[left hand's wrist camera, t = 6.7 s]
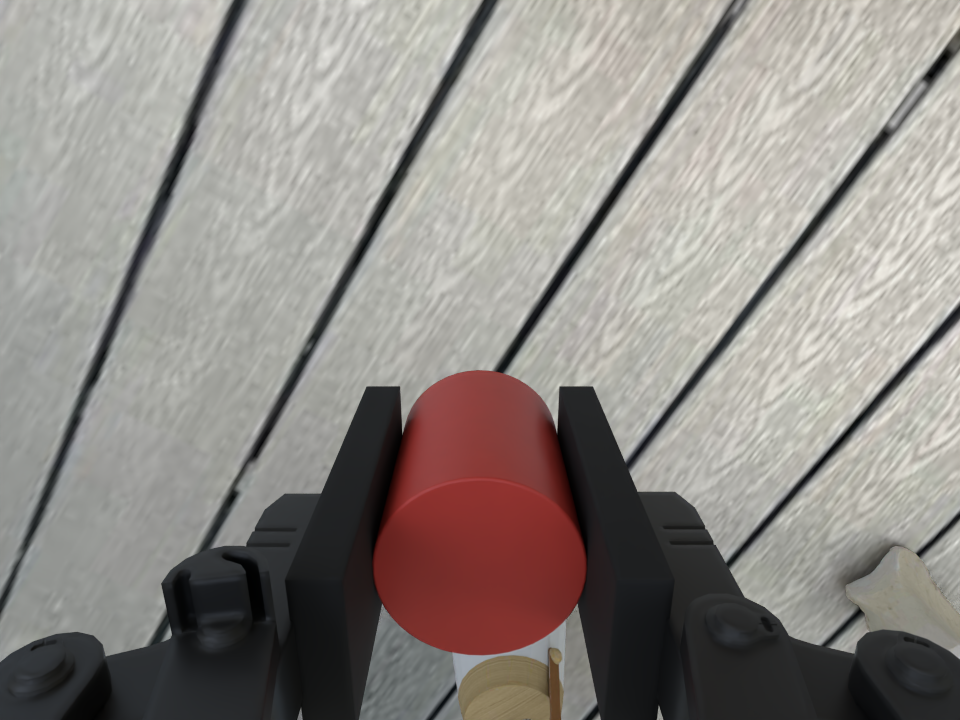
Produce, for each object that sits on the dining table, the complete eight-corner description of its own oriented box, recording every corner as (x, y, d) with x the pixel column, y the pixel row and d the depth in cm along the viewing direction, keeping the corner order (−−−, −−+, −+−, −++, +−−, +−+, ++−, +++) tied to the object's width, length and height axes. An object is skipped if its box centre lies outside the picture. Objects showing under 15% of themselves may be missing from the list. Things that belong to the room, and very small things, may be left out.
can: (462, 339, 14) (454, 436, 10) (587, 425, 15) (633, 552, 11) (374, 454, 15) (330, 592, 11) (495, 530, 16) (501, 688, 12)
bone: (820, 564, 46) (838, 697, 39) (916, 518, 42) (958, 658, 34) (914, 631, 47) (949, 774, 39) (1018, 593, 42) (1081, 747, 35)
